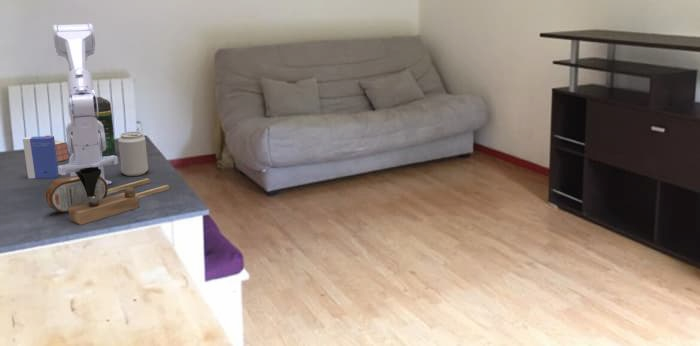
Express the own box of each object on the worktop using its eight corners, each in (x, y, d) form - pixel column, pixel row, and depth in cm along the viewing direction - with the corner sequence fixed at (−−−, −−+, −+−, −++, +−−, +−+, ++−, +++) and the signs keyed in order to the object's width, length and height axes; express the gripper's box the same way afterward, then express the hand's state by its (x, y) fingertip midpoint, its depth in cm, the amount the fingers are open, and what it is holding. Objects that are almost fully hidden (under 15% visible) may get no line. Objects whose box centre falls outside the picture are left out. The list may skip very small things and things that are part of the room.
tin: (105, 199, 182) (102, 169, 180) (111, 202, 180) (107, 171, 177) (47, 213, 172) (42, 181, 170) (52, 217, 170) (47, 184, 167)
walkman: (59, 174, 203) (53, 134, 199) (56, 177, 200) (50, 137, 196) (31, 175, 202) (25, 135, 198) (27, 178, 199) (21, 137, 196)
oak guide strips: (99, 195, 185) (99, 191, 185) (147, 181, 196) (147, 178, 196) (120, 203, 179) (120, 199, 179) (169, 189, 190) (169, 185, 190)
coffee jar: (118, 157, 220) (112, 99, 214) (92, 161, 216) (85, 102, 210) (113, 150, 228) (107, 94, 222) (87, 153, 224) (80, 96, 219)
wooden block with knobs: (69, 220, 168) (67, 200, 166) (128, 202, 180) (126, 184, 178) (80, 225, 165) (78, 205, 163) (139, 207, 176) (137, 188, 175)
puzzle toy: (58, 156, 221) (56, 139, 220) (69, 159, 218) (67, 141, 216) (42, 160, 217) (39, 143, 215) (52, 163, 214) (50, 145, 212)
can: (140, 177, 200) (137, 137, 196) (116, 176, 201) (112, 135, 198) (153, 170, 207) (149, 130, 203) (129, 168, 208) (125, 129, 205)
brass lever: (98, 205, 168) (97, 197, 167) (88, 206, 167) (87, 198, 167) (100, 196, 175) (99, 188, 174) (90, 197, 174) (90, 189, 173)
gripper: (65, 151, 160) (71, 207, 164) (122, 141, 171) (126, 194, 175) (51, 146, 165) (57, 201, 169) (107, 136, 175) (112, 188, 179)
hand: (91, 197), depth 172 cm, fingers closed, pressing on brass lever
